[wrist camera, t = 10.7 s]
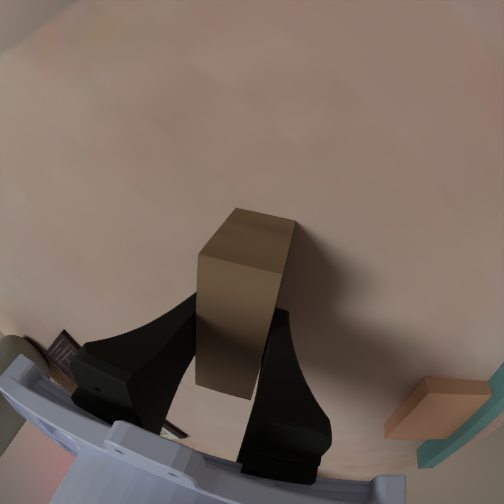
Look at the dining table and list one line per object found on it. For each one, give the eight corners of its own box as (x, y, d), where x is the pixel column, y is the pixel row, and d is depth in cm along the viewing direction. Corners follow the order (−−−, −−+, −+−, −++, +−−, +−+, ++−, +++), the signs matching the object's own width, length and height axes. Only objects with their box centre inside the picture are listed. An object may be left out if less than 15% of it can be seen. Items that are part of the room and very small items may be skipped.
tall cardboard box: (268, 336, 18) (250, 400, 14) (222, 324, 19) (195, 384, 14) (295, 220, 14) (282, 274, 10) (236, 207, 15) (198, 254, 10)
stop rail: (430, 449, 22) (432, 467, 20) (416, 449, 22) (417, 468, 20) (553, 310, 12) (567, 331, 10) (541, 307, 12) (556, 329, 10)
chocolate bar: (61, 332, 24) (186, 438, 28) (66, 326, 25) (188, 431, 29) (45, 353, 28) (148, 440, 32) (49, 348, 29) (150, 435, 33)
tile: (443, 422, 20) (446, 438, 18) (384, 419, 21) (384, 438, 19) (486, 377, 17) (492, 394, 15) (424, 372, 17) (428, 392, 16)
